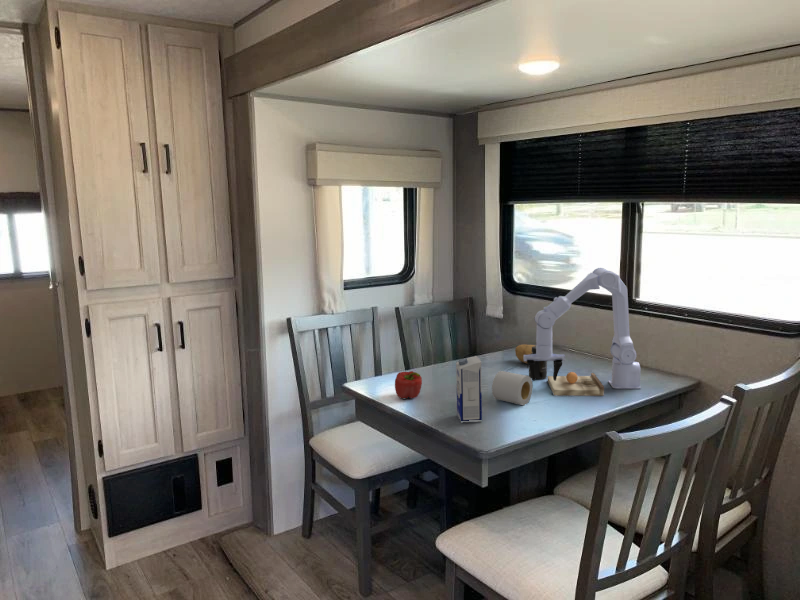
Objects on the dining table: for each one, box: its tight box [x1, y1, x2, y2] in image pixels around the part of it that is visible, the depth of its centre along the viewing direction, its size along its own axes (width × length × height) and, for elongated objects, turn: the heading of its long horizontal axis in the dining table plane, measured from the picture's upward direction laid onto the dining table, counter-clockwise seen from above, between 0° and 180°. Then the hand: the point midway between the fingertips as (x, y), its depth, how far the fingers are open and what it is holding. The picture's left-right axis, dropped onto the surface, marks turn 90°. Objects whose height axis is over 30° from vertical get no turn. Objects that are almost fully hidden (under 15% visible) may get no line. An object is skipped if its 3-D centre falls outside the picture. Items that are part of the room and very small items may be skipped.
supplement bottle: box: [528, 345, 548, 380], centre depth 227 cm, size 7×7×12 cm
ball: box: [565, 371, 579, 383], centre depth 214 cm, size 4×4×4 cm
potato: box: [514, 343, 536, 365], centre depth 245 cm, size 10×14×8 cm
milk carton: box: [455, 355, 483, 421], centre depth 187 cm, size 7×7×20 cm
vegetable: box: [394, 371, 423, 399], centre depth 210 cm, size 11×10×10 cm
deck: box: [547, 372, 605, 397], centre depth 214 cm, size 18×16×3 cm
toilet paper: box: [491, 370, 534, 406], centre depth 202 cm, size 10×10×10 cm
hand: (543, 379), depth 215 cm, fingers open, 7 cm apart
